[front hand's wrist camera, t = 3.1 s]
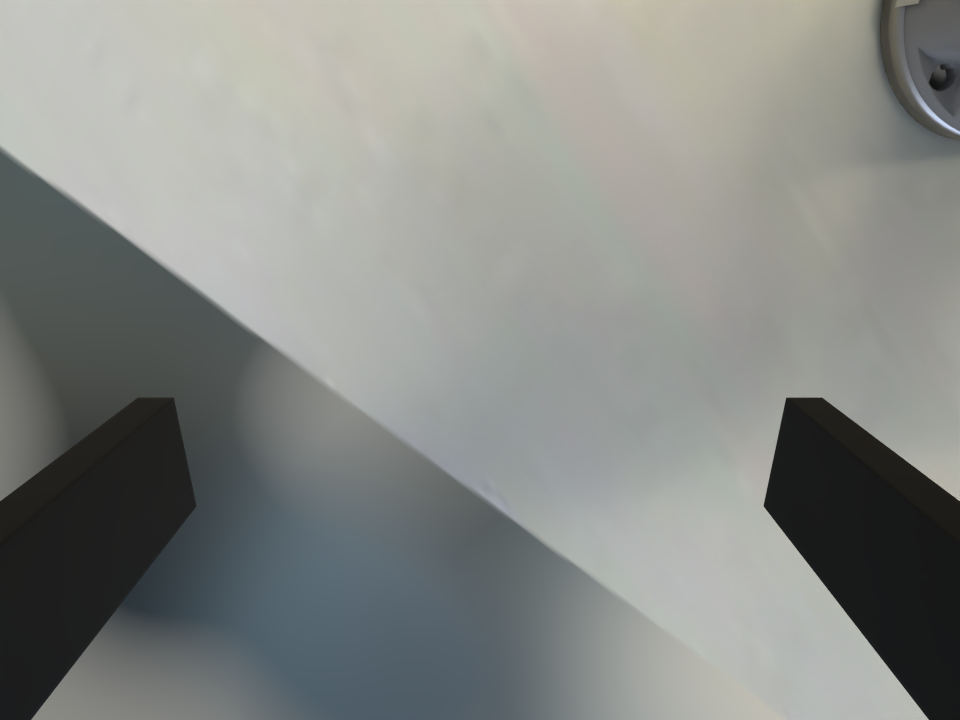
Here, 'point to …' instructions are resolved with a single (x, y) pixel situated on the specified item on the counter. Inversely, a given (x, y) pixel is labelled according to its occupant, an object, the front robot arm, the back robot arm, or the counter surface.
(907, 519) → the front robot arm
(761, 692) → the counter surface
